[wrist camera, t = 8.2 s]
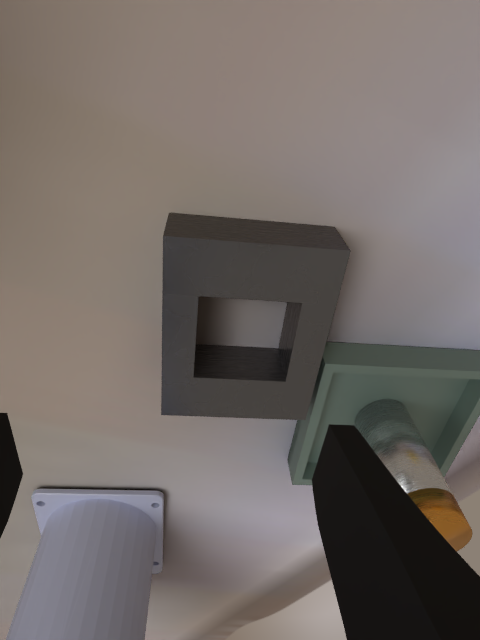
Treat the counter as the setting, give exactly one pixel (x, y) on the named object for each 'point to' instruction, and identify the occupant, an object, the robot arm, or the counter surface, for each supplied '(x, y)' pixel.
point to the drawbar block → (255, 284)
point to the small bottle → (413, 466)
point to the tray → (391, 397)
